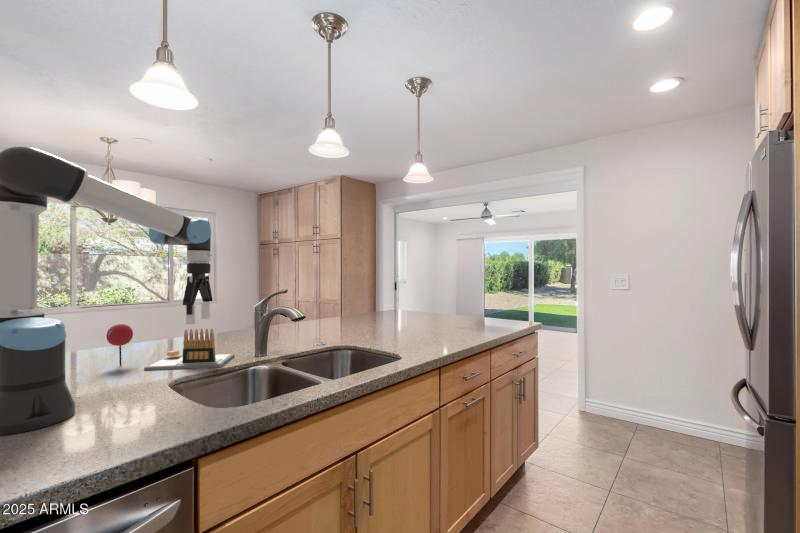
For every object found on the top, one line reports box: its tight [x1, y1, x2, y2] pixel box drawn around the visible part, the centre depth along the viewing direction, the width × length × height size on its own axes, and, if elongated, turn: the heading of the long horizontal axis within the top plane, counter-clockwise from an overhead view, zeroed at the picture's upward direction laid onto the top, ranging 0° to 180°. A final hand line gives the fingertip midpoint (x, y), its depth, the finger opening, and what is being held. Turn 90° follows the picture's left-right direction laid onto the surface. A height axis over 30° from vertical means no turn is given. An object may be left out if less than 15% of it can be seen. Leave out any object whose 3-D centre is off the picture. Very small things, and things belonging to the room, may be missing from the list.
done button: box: [166, 349, 180, 356], centre depth 142 cm, size 4×4×1 cm
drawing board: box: [143, 353, 235, 371], centre depth 138 cm, size 16×25×1 cm, turn 98°
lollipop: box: [106, 323, 134, 366], centre depth 135 cm, size 8×8×15 cm
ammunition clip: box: [182, 328, 216, 363], centre depth 135 cm, size 11×2×12 cm, turn 98°
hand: (198, 321), depth 135 cm, fingers open, 13 cm apart
